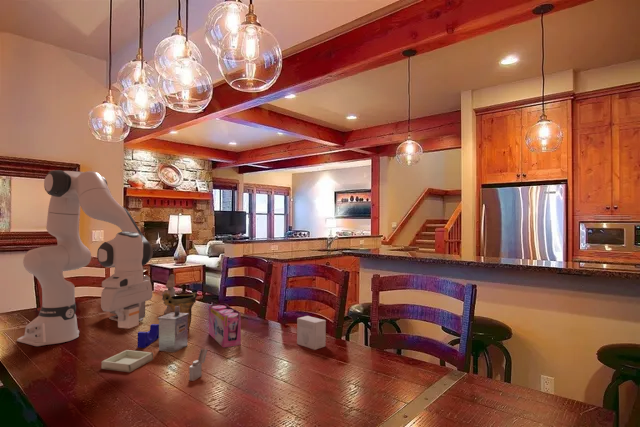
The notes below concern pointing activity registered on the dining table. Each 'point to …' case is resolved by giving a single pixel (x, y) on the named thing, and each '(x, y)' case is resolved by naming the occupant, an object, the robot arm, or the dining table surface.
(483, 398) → the dining table surface
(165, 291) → the figurine
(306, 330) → the skincare box
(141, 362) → the parts tray
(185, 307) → the pot
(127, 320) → the block
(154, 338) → the blue notched block
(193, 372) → the lighter
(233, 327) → the gum box
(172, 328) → the box
